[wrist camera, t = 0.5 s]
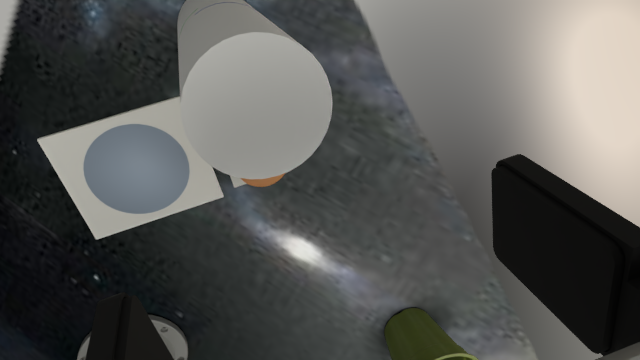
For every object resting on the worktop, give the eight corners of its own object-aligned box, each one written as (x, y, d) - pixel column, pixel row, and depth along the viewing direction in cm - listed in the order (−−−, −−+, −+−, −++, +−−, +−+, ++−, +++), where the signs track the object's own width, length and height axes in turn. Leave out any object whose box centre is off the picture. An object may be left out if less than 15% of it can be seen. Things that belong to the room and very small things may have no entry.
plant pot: (366, 306, 65) (400, 369, 55) (442, 286, 67) (487, 343, 57) (369, 363, 70) (400, 430, 60) (438, 343, 73) (479, 403, 63)
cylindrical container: (267, 46, 45) (352, 138, 23) (201, 79, 44) (227, 202, 23) (233, -27, 41) (297, 3, 20) (161, 8, 41) (147, 77, 19)
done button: (290, 168, 47) (294, 176, 46) (241, 184, 47) (244, 193, 45) (277, 123, 45) (281, 130, 43) (225, 139, 44) (227, 147, 42)
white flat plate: (223, 195, 51) (223, 197, 50) (96, 237, 49) (96, 240, 48) (184, 94, 45) (184, 95, 44) (38, 138, 43) (36, 140, 42)
